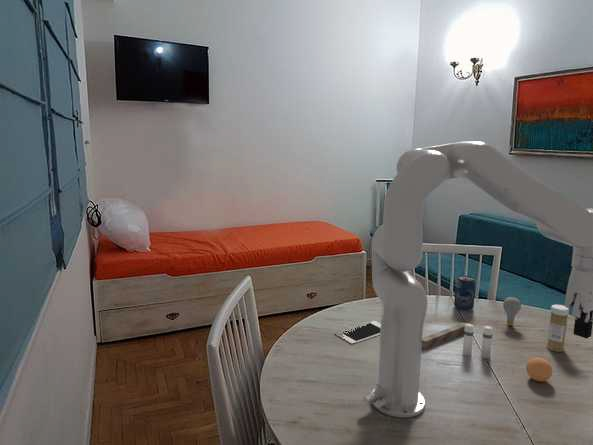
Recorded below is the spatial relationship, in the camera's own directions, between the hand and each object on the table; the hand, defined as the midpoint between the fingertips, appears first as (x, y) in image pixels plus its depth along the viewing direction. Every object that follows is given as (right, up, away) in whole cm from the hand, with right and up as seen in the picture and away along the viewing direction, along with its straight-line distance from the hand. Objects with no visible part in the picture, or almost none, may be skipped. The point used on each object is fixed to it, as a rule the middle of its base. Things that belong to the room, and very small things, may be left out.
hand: (582, 335), depth 104 cm
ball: (-5, -11, +9) cm, 15 cm away
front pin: (-14, -12, +22) cm, 29 cm away
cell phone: (-47, -10, +38) cm, 61 cm away
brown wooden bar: (-22, -10, +33) cm, 41 cm away
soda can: (-6, -5, +58) cm, 59 cm away
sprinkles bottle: (+10, -11, +27) cm, 31 cm away
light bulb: (+4, -8, +44) cm, 44 cm away
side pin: (-18, -12, +24) cm, 32 cm away
